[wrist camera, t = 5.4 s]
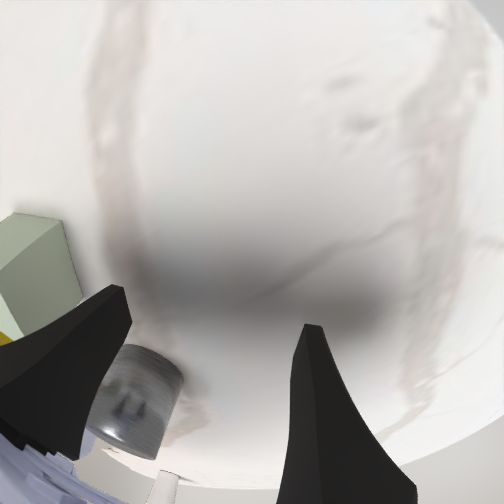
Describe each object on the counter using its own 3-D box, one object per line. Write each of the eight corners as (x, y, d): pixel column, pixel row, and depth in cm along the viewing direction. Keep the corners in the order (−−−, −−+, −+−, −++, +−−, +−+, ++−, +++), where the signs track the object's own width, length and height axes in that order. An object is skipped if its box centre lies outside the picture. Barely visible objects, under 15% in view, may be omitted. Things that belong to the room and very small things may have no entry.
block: (84, 296, 14) (37, 356, 9) (35, 278, 14) (-8, 325, 10) (62, 219, 11) (-7, 277, 7) (15, 212, 11) (-42, 255, 7)
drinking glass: (182, 478, 49) (168, 522, 36) (157, 470, 49) (142, 513, 36) (183, 476, 45) (169, 524, 32) (156, 467, 45) (140, 515, 32)
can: (186, 395, 17) (162, 465, 12) (126, 376, 18) (96, 438, 13) (179, 357, 15) (143, 446, 9) (108, 335, 15) (65, 408, 10)
